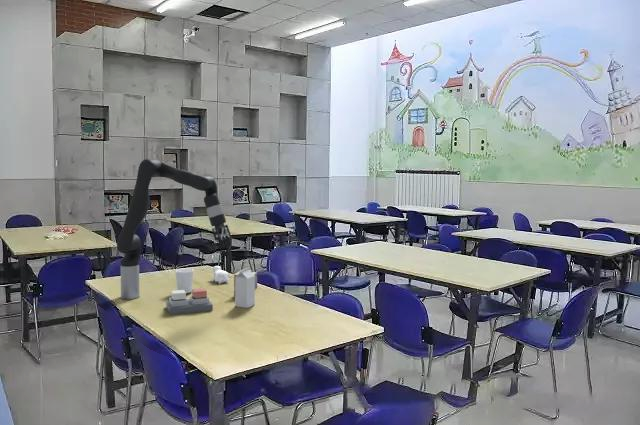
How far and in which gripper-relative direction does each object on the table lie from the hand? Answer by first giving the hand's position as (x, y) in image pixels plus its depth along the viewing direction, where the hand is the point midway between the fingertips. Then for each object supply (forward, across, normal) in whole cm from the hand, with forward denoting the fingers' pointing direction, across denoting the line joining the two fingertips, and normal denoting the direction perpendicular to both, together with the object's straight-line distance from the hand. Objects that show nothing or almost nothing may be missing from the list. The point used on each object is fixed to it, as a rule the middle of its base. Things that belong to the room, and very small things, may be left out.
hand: (226, 246), depth 258 cm
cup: (+18, -20, -41) cm, 49 cm away
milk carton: (+32, -6, -3) cm, 32 cm away
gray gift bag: (+28, -32, -12) cm, 44 cm away
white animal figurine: (+19, -51, -34) cm, 65 cm away
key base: (+24, +7, -25) cm, 35 cm away
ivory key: (+17, +10, -27) cm, 34 cm away
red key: (+19, +5, -20) cm, 28 cm away
